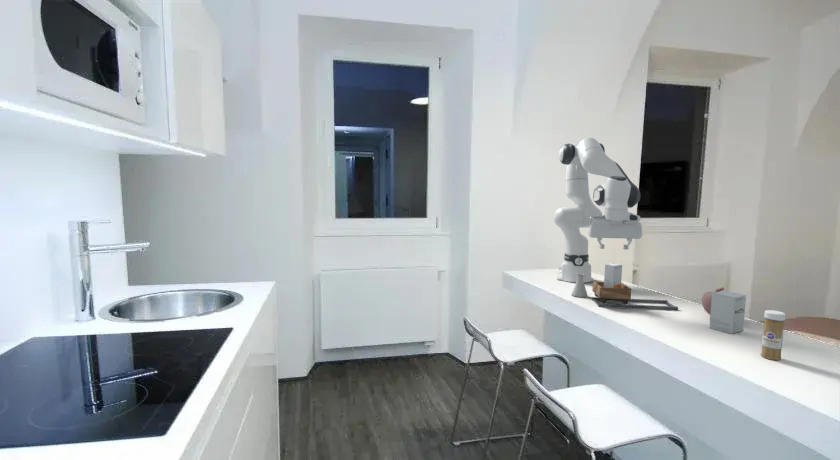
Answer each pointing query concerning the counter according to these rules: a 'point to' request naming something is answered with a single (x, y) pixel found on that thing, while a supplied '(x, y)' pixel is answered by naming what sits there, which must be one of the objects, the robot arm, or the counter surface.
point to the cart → (611, 292)
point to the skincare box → (613, 275)
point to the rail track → (669, 307)
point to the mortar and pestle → (708, 300)
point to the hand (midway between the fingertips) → (613, 248)
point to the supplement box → (727, 311)
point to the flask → (579, 287)
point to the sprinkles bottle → (773, 334)
